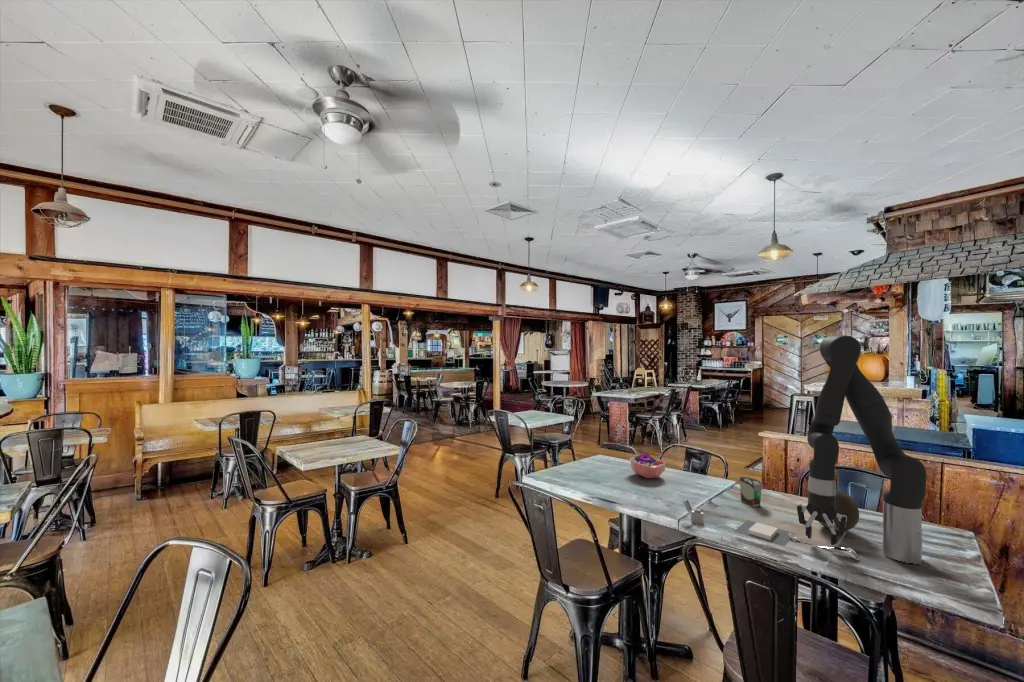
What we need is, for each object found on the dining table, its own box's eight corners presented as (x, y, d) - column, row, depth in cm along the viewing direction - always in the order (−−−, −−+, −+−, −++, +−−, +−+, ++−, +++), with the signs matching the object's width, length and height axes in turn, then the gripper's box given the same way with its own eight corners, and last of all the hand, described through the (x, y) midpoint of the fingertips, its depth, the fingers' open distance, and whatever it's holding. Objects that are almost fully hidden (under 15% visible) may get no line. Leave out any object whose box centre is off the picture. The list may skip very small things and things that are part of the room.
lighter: (703, 523, 165) (703, 502, 165) (702, 525, 163) (702, 504, 163) (684, 519, 169) (684, 498, 169) (683, 520, 168) (683, 499, 168)
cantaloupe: (816, 519, 169) (816, 481, 169) (862, 531, 158) (862, 490, 158) (806, 530, 159) (806, 489, 159) (854, 543, 149) (854, 500, 149)
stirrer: (786, 529, 151) (790, 525, 154) (785, 539, 151) (789, 535, 154) (857, 554, 136) (861, 549, 139) (857, 565, 136) (860, 560, 139)
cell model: (635, 483, 212) (635, 459, 212) (626, 470, 232) (626, 449, 232) (670, 483, 211) (670, 460, 211) (658, 471, 231) (658, 449, 231)
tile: (778, 528, 156) (770, 536, 150) (778, 532, 156) (770, 540, 150) (756, 522, 161) (748, 529, 155) (756, 526, 161) (748, 534, 155)
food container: (769, 509, 178) (769, 485, 178) (754, 509, 178) (755, 485, 178) (752, 498, 191) (753, 476, 191) (739, 498, 191) (739, 476, 191)
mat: (795, 534, 156) (795, 533, 156) (784, 547, 146) (784, 546, 146) (747, 521, 167) (747, 519, 167) (734, 532, 157) (734, 530, 157)
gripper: (850, 494, 142) (849, 545, 143) (799, 483, 153) (798, 530, 153) (846, 499, 137) (845, 552, 137) (793, 488, 148) (792, 537, 148)
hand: (820, 540), depth 145 cm, fingers open, 6 cm apart
